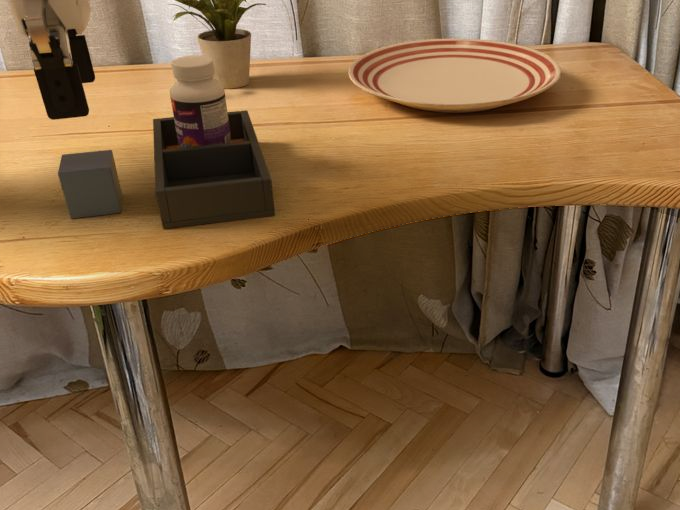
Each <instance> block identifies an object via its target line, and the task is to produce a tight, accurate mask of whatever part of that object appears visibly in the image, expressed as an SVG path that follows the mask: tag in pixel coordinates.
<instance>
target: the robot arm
mask: <svg viewBox="0 0 680 510" xmlns="http://www.w3.org/2000/svg"><path fill="white" fill-rule="evenodd" d="M7 2H8V5H9V9H10V11H11V14H12V17H13V20H14V23H15V26H16V28H17V30H18V32H19V33H20V34H21V35H22V36H24V37H25V38H28V46H29V50H30V56H31V61H32V65H33V72H34V75H35V80H36V82H37V86H38V89H39V92H40V96H41V99H42V102H43V106H44V109H45V112H46V116H47V117H48V119H50V120H52V121H55V120H64V119H73V118H83V117H87V116H89V113H90V107H89V103H88V100H87V97H86V93H85V89H84V85H83V84H89V83H90V84H91V83H94V82H95V81H96V74H95V71H94V70H95V69H94V66H93V63H92V58H91V53H90V51H89V47H88V43H87V39H86V38H87V37H86V34H83V33H84V32H85V31H86V29H87V27H88V25H89V21H90V16H91V11H92V10H91V5H90V0H7Z"/></svg>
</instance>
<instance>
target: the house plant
mask: <svg viewBox="0 0 680 510" xmlns="http://www.w3.org/2000/svg"><path fill="white" fill-rule="evenodd" d="M174 1H175V2H178V3H180V4H182V5H185V6H188V9H190V8H193V9H194V10H197V11H199V12H200V13H201V14H199V13H196V12H195V11H189V10H187V9H186V8H184V7H183V6H181V5H178V4H173V3H167V5H168V6H169V5H170V6H171V5H172V6H177V7H179V8H181V9H183V10H184V11H179V12H177V13H175V14H174V15H173V16H172V18H173V17H174V18H173V20H172V23H174V22H175V21H176V20H177V19H179V18H180V17H183V16H185V15H191V16H192V17H193V18H194V19H196V20H197V21H198V22H200V23H201V24H202V25H203V26H204V27H205V28H207V25H208V26H209V28H208V30H206V31H202V32H200V33H198V34H197V37H196V40H197V42H198V46H199V49H200V52H201V56H208V57H210V58H212V59H213V64H214V69H215V75H214V76H213V78H214V79H216V80H218V81H220V82H221V83H222V85H223V87H224V90H225V89H227V90H229V89H231V90H232V89H238V88H242V87H246V86H247V85H249V83H250V69H251V68H250V67H251V50H252V49H251V47H252V46H251V45H252V32H251V31H249V30H246V29H242V28H237V25H238V24H239V22H240V20H241V18H242V17H243V15H244V14H246V12H247V11H248V10H250V9H251V8H253V7H256V6H267V7H269V5H267V3H263V2H262V3H254V4H251V5H249V6H247V7H243V6H241V4H242V3H243V2H245V3H247V0H174ZM197 17H198V18H200V19H202V20H203V21H204V22H206V24H207V25H205V24H204V23H203V21H200V20H199V19H198V18H197Z"/></svg>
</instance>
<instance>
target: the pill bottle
mask: <svg viewBox="0 0 680 510" xmlns="http://www.w3.org/2000/svg"><path fill="white" fill-rule="evenodd" d="M171 69H172V75H173V77H174V79H175V80H176V81H175V82H174V83H172V84H171V86H170V88H169V98H170V103H171V104H170V105H171V109H172V116H173V117H174V121H175V127H176V133H177V138H178V144H179V148H183V147H193V146H203V145H213V144H223V143H231V135H230V128H229V120H228V113H227V112H228V107H227V99H226V92H225V89H224V87H223V85H222V83H221V82H220V81H218V80H216V79H214V78H213V76H214V75H215V69H214V64H213V59H212V58H210V57H208V56H203V55H202V54H201V55H200V54H195V55H194V54H193V55H185V56H180V57H179V56H178V57H177V58H174V59H173V60H171Z"/></svg>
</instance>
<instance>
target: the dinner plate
mask: <svg viewBox="0 0 680 510" xmlns="http://www.w3.org/2000/svg"><path fill="white" fill-rule="evenodd" d="M561 75H562V70H561V67H560V64H559V63H558V62H557V61H556V60H555V59H554V58H553V57H551V56H550V55H548V54H546V53H544V52H542V51H540V50H537V49H535V48H532V47H530V46H529V47H528V46H524V45H521V44H516V43H513V42H512V43H511V42H506V41H499V40H490V39H478V38H430V39H429V38H428V39H418V40H412V41H404V42H400V43H394V44H390V45H385V46H381V47H379V48H376V49H373V50H370V51H369V52H366V53H364V54H362V55H361V56H359V57H357V58H356V59H355V60H354V61H353V62H352V63H351V64H350V66H349V68H348V77H349V79H350V80H351V82H352V83H353V85H355V86H356V87H358V88H359V89H361V90H363V91H364V92H366V93H368V94H369V93H370V94H372V95H374V96H377V97H380V98H382V99H385V100H387V101H391V102H394V103H397V104H399V105H401V106H404V107H409V108H412V109H416V110H421V111H427V112H438V113H456V114H457V113H474V112H482V111H489V110H493V109H498V108H501V107H504V106H507V105H511V104H515V103H518V102H522V101H525V100H527V99H531V98H532V97H534V96H537V95H540V94H541V93H544V92H545V91H547V90H548V89H549V88H551V87H552V86H554V85H556V84H557V82H558V81H559V80H560V79H561Z"/></svg>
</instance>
